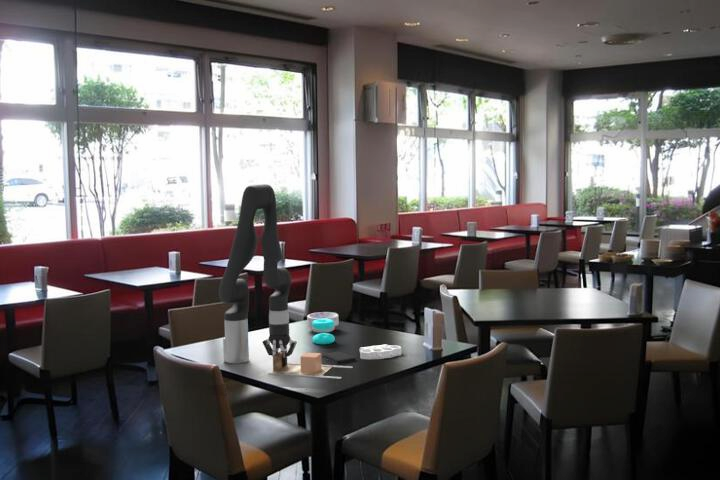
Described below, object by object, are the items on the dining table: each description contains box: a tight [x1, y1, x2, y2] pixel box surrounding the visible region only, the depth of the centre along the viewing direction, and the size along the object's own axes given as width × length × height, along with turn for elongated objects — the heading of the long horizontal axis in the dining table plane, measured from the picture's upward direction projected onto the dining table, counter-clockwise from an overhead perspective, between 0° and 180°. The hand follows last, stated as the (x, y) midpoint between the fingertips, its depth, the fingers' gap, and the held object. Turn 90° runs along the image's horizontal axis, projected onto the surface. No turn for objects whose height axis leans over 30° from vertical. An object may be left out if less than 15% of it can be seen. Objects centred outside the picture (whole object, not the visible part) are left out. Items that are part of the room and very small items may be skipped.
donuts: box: [312, 319, 336, 345], centre depth 293 cm, size 10×10×10 cm
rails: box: [268, 362, 353, 380], centre depth 244 cm, size 28×15×2 cm, turn 74°
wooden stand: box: [270, 350, 333, 376], centre depth 245 cm, size 20×12×7 cm, turn 74°
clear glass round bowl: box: [306, 311, 340, 334], centre depth 317 cm, size 15×15×8 cm
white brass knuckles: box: [358, 343, 402, 360], centre depth 270 cm, size 3×18×15 cm
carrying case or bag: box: [321, 351, 358, 366], centre depth 260 cm, size 11×3×15 cm
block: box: [300, 352, 323, 373], centre depth 244 cm, size 6×6×6 cm
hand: (280, 366), depth 248 cm, fingers closed on wooden stand, 2 cm apart
